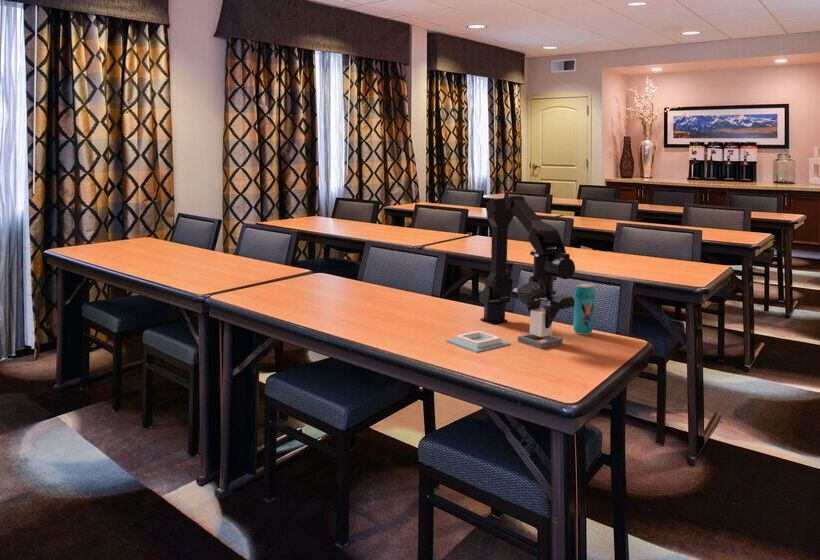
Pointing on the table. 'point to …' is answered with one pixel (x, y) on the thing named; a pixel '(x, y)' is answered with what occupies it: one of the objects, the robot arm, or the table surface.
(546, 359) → the table surface
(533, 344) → the socket
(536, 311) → the plug block
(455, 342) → the socket
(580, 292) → the beverage can
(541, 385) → the table surface
